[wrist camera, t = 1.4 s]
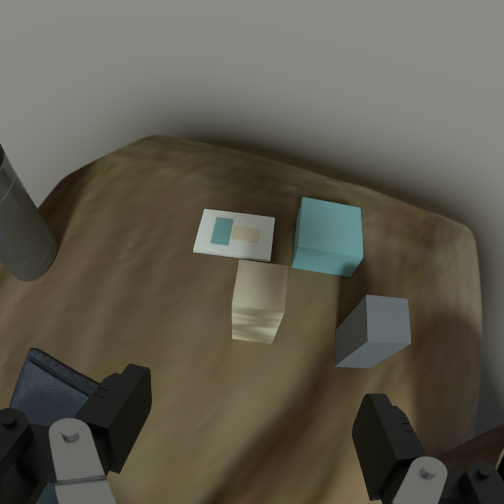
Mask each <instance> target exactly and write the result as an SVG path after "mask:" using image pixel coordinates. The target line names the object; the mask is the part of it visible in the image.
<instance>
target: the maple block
mask: <svg viewBox="0 0 504 504" xmlns="http://www.w3.org/2000/svg"><path fill="white" fill-rule="evenodd" d="M287 278H288V266H285V265H277V264H270V263H262V262H255V261H247V260H240V259H239V265H238V271H237V277H236V283H235V289H234V295H233V301H232V339H237V340H244V341H252V342H260V343H268V344H272V342H273V339H274V337H275V335H276V332H277V330H278V327H279V325H280V322H281V320H282V317H283V315H284V312H285V303H286V291H287Z"/></svg>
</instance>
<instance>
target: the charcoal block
mask: <svg viewBox="0 0 504 504" xmlns="http://www.w3.org/2000/svg"><path fill="white" fill-rule="evenodd" d="M409 344H411V333H410V320H409V308H408V299H402V298H392V297H383V296H373V295H366V296H365V297H364V298H363V299H362V300H361V302H360V303H359V304H358V305H357V306H356V308H355V309H354V310H353V311H352V312H351V313H350V315H349V316H348V317H347V318H346V319H345V320H344V321H343V323H342V324H341V325H340V326H339V327H338V328H337V329H336V336H335V365H334V366H335V367H354V368H371V367H373V366H375V365H376V364H378V363H380V362H381V361H383V360H385V359H387V358H388V357H390V356H392V355H393V354H395V353H396V352H398V351H400V350H401V349H403V348H405V347H406V346H408V345H409Z"/></svg>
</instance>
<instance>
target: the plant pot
mask: <svg viewBox="0 0 504 504" xmlns="http://www.w3.org/2000/svg"><path fill="white" fill-rule="evenodd" d="M438 460H439V461H441V462H442V463H443V464H444V465H445V467H446V469H447V470H459V471H465V470H466V469H467V467H468V466H469V465H470V464H471V463H472V462H474V461H478V460H483V461H487V462H489V463H491V464H492V465H493V466H494V467H495V468H496V469H497V471H498V473H499V474H500V476H501V478H502V480H503V482H504V423H503V424H501V425H499V426H497V427H495V428H493V429H490V430H489V431H487V432H485V433H483V434H481V435H479V436H477V437H475V438H473V439H471V440H469V441H467V442H466V443H464V444H462V445H460V446H458V447H457V448H455V449H453V450H452V451H450V452H448V453H447V454H445V455H443V456H442V457H440V458H439V459H438Z"/></svg>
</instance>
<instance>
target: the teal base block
mask: <svg viewBox="0 0 504 504" xmlns="http://www.w3.org/2000/svg"><path fill="white" fill-rule="evenodd" d="M362 259H363V244H362V226H361V211H360V208H358V207H353V206H348V205H343V204H338V203H333V202H327V201H322V200H317V199H311V198H306V197H302V201H301V205H300V209H299V213H298V217H297V222H296V232H295V242H294V251H293V260H292V268H298V269H304V270H310V271H316V272H322V273H328V274H334V275H341V276H347V277H351V276H352V274H353V273H354V271H355V270H356V268H357V267H358V265H359V264H360V262H361V260H362Z"/></svg>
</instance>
